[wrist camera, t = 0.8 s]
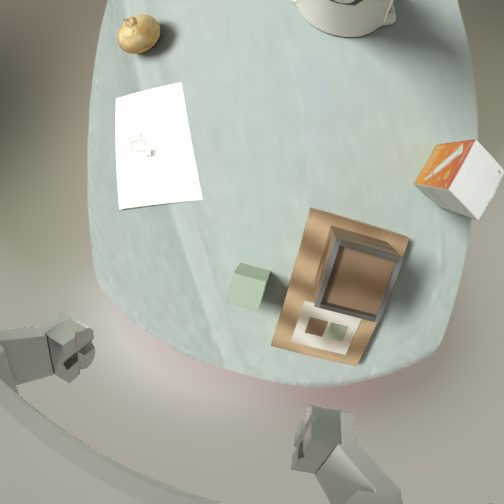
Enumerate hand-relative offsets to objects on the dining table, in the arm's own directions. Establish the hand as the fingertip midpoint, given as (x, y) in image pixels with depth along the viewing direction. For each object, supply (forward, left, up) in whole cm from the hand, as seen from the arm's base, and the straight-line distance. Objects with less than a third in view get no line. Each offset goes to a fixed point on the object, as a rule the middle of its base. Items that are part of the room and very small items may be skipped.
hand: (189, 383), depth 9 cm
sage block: (+12, -3, -38) cm, 40 cm away
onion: (-27, -32, -38) cm, 56 cm away
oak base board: (+10, +11, -38) cm, 41 cm away
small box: (-13, +22, -38) cm, 46 cm away
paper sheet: (-8, -19, -38) cm, 43 cm away
